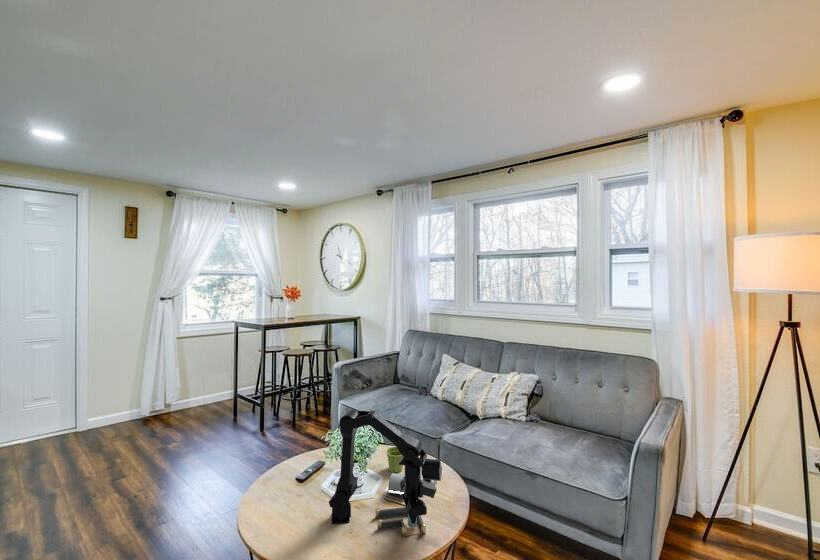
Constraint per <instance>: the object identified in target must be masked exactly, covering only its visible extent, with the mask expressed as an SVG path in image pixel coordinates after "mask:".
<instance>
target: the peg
mask: <svg viewBox="0 0 820 560" xmlns="http://www.w3.org/2000/svg"><path fill="white" fill-rule="evenodd" d="M417 524H418V520H417V518H416V522H415V524H412V522H411V520H410V517H409V515H407V525H408V526H409V527H416V526H417Z"/></svg>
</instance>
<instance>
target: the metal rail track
mask: <svg viewBox="0 0 820 560" xmlns="http://www.w3.org/2000/svg"><path fill="white" fill-rule="evenodd" d="M374 514H375V516H374V517H375V519H377V523H376V524H377V525H376V526H377V529H376V530H377V531H379V532H380V531H383V530H390V529H397V528H401V537H402V538H407V536H408V535H407V527H406V526H405V523H404V522H405V521H404V519H403V518H398V519H390V520H383V519H384V518H389V517H399V516H408V512H407V509H406V506H404V507H403V506H402V507H394V508H385V509H380V508H379V507H377V508H375V512H374ZM382 518H383V519H382ZM417 524H418V526H419V529H420V532H421V535H422V536H425V535H426V533H427V532H426V531H427V530H426V529H427V528H426V526H427V525H426V523H424V521H423V517H422V515H420V516H417Z"/></svg>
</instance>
